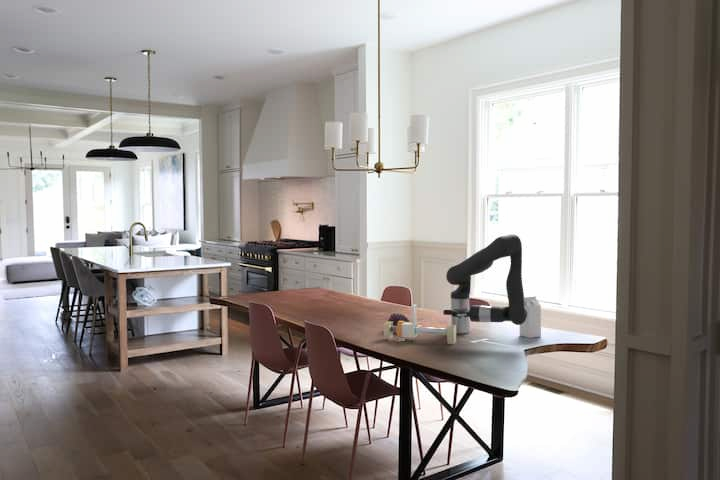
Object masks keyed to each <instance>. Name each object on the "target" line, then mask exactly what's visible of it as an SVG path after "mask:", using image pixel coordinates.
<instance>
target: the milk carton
mask: <svg viewBox="0 0 720 480" xmlns="http://www.w3.org/2000/svg"><path fill="white" fill-rule="evenodd" d="M524 308H525V309H526V311H527V318H526V320H525V322H524V323H523V324H521V325H519V336H521V337H524V338H527V339H530V338H539V337H541V336H542V318H541V317H542V313H541V312H542V307H541V304H540V302H539V301H538V300H537V296H527V297H526V296H524Z"/></svg>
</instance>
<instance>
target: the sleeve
mask: <svg viewBox="0 0 720 480" xmlns="http://www.w3.org/2000/svg"><path fill="white" fill-rule="evenodd" d="M415 327H419V325H418V305H417V303H415V304H413V305H411V321H409V322H405V323H403V324H402V337H409V339H410V338H411V339H414V338H417V336H419V334H418V333H415Z"/></svg>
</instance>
